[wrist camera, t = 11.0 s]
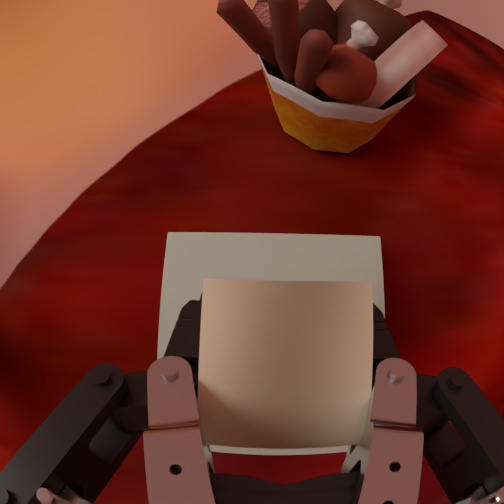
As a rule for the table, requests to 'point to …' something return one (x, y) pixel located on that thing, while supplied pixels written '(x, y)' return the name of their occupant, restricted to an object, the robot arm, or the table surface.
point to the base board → (262, 277)
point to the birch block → (285, 362)
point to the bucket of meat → (334, 64)
